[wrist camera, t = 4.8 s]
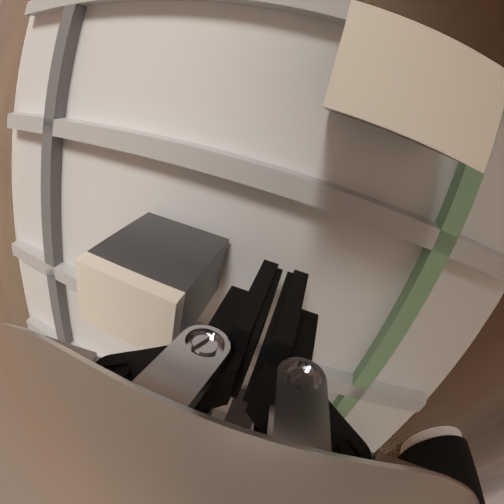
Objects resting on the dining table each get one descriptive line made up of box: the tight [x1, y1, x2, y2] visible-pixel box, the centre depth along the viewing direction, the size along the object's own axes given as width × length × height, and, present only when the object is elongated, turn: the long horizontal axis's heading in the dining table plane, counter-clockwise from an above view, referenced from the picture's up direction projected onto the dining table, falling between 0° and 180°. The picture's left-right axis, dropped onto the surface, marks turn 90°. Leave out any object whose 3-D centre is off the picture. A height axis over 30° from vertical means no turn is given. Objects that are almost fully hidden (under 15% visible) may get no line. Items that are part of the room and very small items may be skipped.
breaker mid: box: [75, 212, 229, 349], centre depth 11 cm, size 2×4×5 cm, turn 76°
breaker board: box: [7, 0, 504, 453], centre depth 14 cm, size 22×26×2 cm
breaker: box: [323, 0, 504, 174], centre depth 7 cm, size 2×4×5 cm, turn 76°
